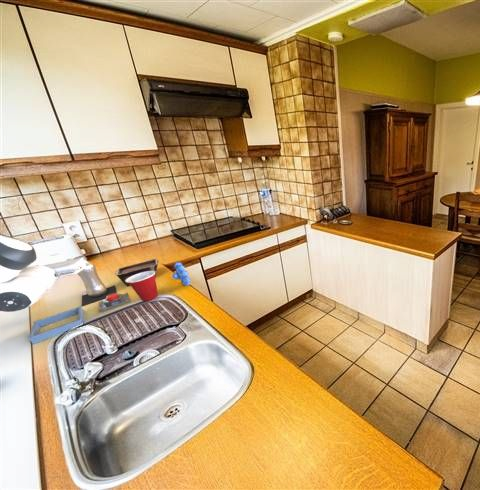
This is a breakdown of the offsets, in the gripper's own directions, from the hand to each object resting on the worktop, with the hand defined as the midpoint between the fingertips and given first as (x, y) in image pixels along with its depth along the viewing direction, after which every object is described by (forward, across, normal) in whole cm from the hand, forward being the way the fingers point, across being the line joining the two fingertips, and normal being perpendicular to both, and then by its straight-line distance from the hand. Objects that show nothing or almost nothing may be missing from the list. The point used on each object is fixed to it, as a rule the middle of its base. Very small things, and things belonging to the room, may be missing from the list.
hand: (54, 263), depth 100 cm
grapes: (+7, -35, +26) cm, 44 cm away
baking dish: (+29, -15, +26) cm, 42 cm away
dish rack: (-1, +7, +26) cm, 27 cm away
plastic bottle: (+20, 0, +25) cm, 32 cm away
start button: (+7, -8, +23) cm, 25 cm away
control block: (+7, -8, +26) cm, 28 cm away
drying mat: (+20, 0, +26) cm, 33 cm away
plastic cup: (+3, -22, +26) cm, 34 cm away
